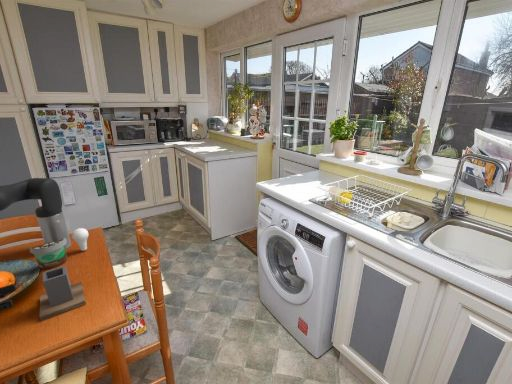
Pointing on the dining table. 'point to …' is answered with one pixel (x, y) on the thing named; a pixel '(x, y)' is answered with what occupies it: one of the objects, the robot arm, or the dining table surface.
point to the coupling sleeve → (57, 286)
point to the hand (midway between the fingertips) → (13, 294)
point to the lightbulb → (81, 238)
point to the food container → (50, 254)
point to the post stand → (49, 311)
